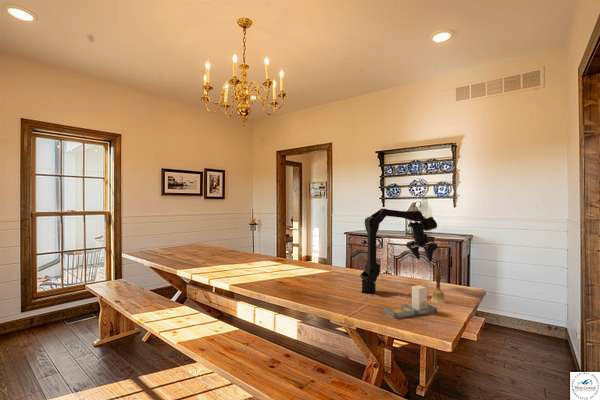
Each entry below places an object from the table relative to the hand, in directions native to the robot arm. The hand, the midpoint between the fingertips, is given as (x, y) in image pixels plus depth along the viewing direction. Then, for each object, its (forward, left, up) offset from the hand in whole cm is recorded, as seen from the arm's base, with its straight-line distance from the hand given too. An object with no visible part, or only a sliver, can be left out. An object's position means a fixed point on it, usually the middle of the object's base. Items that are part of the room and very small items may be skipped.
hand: (424, 260), depth 174 cm
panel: (-6, -44, -15) cm, 47 cm away
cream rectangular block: (-2, -41, -14) cm, 43 cm away
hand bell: (+6, -24, -15) cm, 29 cm away
